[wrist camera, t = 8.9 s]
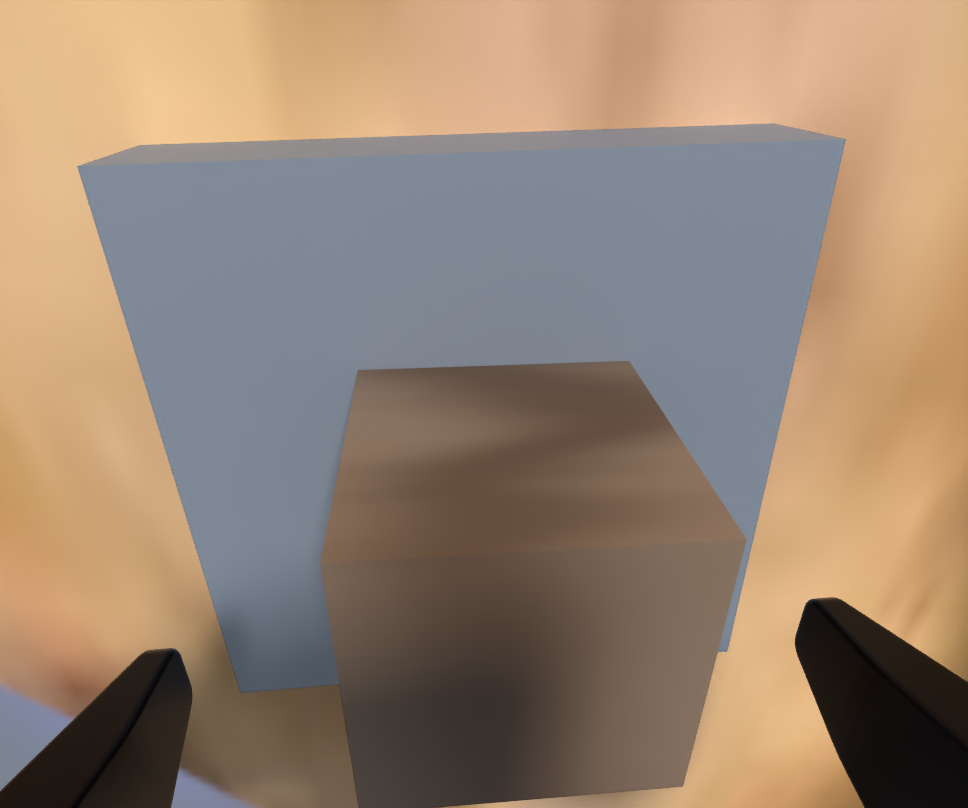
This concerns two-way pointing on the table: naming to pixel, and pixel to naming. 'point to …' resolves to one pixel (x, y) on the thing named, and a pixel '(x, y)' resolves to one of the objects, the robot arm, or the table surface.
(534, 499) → the walnut cube
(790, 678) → the table surface
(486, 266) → the slate block
